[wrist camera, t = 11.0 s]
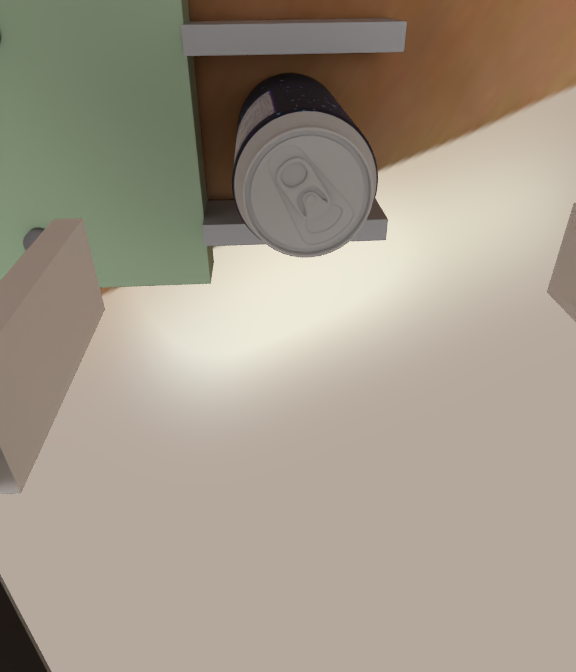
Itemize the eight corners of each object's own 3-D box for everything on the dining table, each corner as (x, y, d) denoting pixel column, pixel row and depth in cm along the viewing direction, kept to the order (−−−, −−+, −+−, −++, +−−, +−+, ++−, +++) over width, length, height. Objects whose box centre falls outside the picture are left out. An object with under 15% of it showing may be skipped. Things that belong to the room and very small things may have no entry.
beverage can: (275, 196, 31) (287, 291, 21) (217, 113, 29) (198, 177, 19) (357, 141, 30) (411, 215, 20) (304, 47, 27) (334, 78, 17)
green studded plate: (-78, -46, 24) (-131, -52, 21) (392, -51, 25) (414, -57, 22) (22, 268, 33) (-4, 299, 30) (368, 256, 34) (381, 284, 31)
